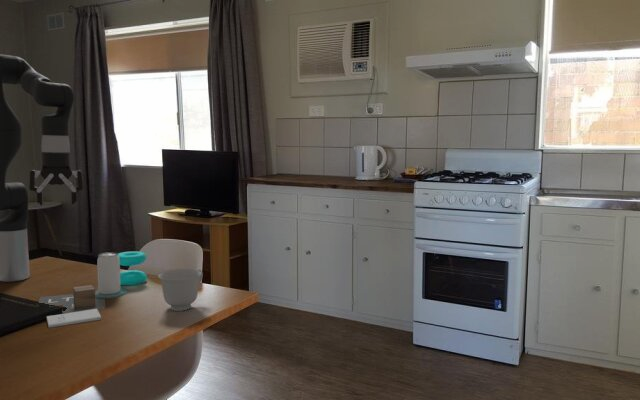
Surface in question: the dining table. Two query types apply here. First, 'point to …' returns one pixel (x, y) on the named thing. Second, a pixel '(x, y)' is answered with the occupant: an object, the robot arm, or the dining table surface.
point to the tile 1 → (56, 299)
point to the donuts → (133, 275)
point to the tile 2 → (98, 302)
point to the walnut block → (84, 296)
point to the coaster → (122, 292)
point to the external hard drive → (73, 318)
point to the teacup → (180, 287)
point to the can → (108, 273)
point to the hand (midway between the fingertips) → (57, 204)
